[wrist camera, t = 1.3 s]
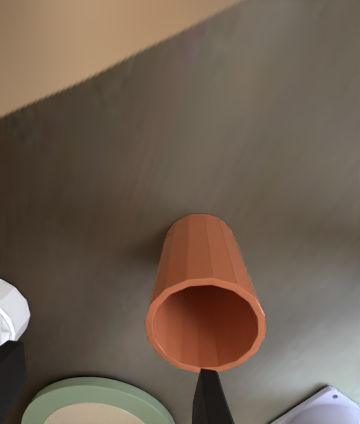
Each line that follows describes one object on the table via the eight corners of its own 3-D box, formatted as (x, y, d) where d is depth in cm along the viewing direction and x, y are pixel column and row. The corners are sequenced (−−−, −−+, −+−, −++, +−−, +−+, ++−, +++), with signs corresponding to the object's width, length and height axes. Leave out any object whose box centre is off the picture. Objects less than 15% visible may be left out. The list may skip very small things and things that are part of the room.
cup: (250, 242, 18) (291, 325, 11) (203, 288, 20) (210, 388, 12) (195, 198, 17) (197, 255, 10) (150, 250, 19) (122, 333, 12)
